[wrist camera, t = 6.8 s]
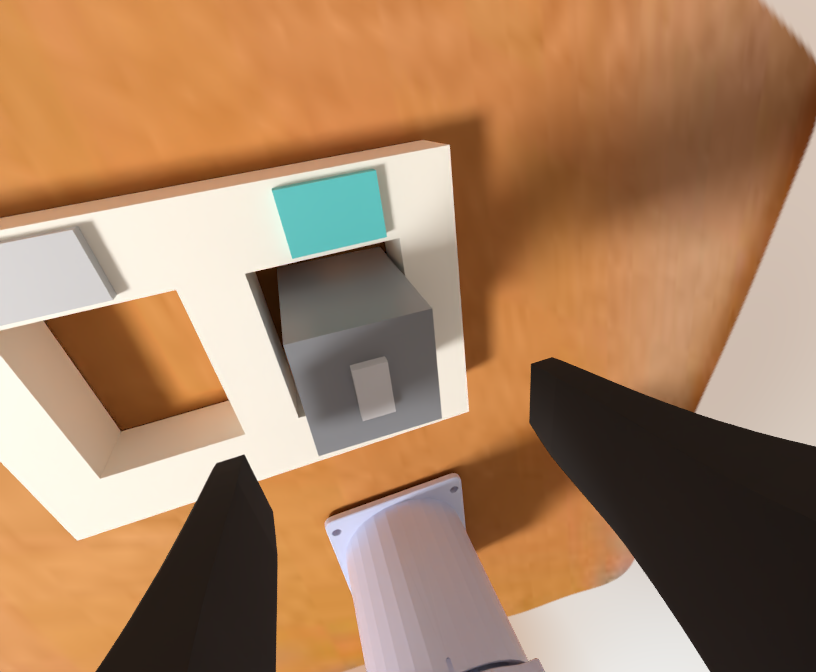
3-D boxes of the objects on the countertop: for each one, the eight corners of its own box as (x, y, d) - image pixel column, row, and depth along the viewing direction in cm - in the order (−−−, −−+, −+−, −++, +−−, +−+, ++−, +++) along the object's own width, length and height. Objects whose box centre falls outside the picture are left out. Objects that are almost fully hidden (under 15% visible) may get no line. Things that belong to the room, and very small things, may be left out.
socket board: (447, 380, 20) (472, 417, 18) (99, 488, 17) (72, 550, 15) (422, 139, 14) (454, 145, 12) (-107, 237, 11) (-207, 271, 9)
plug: (392, 332, 18) (445, 424, 13) (302, 355, 17) (319, 463, 12) (379, 246, 16) (436, 312, 11) (276, 267, 15) (283, 351, 10)
